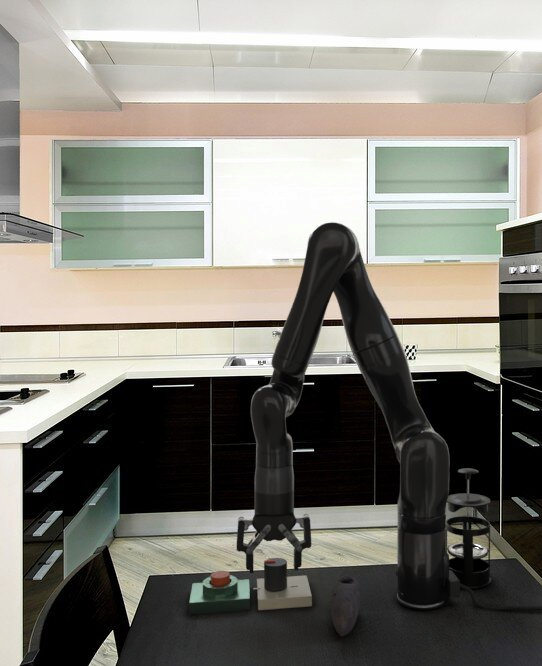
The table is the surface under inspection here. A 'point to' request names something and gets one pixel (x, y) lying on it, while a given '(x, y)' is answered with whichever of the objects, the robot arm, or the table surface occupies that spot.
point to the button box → (219, 596)
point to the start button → (220, 578)
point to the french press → (469, 539)
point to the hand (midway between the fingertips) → (273, 570)
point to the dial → (275, 574)
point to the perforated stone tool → (345, 602)
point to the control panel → (285, 594)
